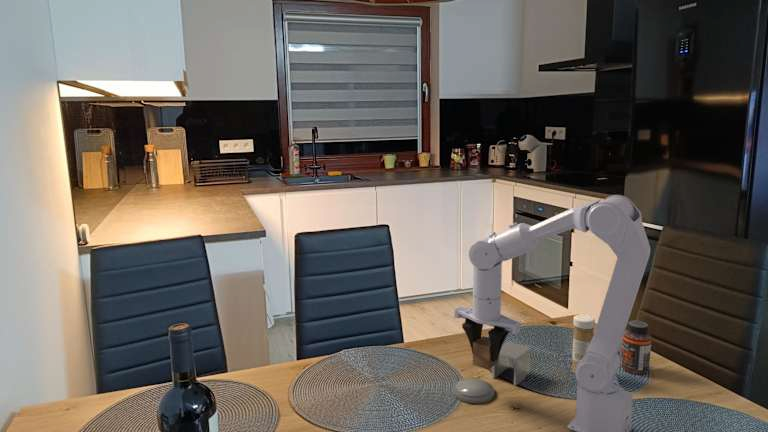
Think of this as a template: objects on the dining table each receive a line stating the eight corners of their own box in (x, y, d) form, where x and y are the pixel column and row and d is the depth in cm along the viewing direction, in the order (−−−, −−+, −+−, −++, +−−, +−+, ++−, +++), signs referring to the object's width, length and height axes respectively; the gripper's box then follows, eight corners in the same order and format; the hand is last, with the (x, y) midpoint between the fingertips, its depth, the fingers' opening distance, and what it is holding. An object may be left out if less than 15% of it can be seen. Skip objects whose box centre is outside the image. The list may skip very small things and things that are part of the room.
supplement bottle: (614, 366, 126) (617, 321, 124) (633, 361, 128) (636, 316, 126) (636, 377, 121) (639, 330, 119) (654, 372, 123) (658, 325, 121)
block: (498, 362, 114) (499, 340, 113) (488, 369, 111) (489, 347, 110) (482, 357, 117) (483, 335, 116) (472, 364, 114) (473, 342, 113)
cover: (529, 373, 124) (530, 347, 122) (515, 385, 118) (516, 358, 117) (506, 366, 127) (507, 341, 126) (492, 378, 122) (492, 351, 121)
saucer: (501, 390, 116) (501, 385, 116) (480, 408, 110) (480, 402, 109) (465, 378, 122) (465, 373, 122) (443, 394, 115) (443, 389, 115)
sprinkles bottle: (596, 373, 123) (599, 318, 120) (583, 379, 120) (586, 322, 118) (579, 366, 127) (582, 312, 124) (566, 371, 124) (569, 316, 122)
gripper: (528, 297, 109) (526, 359, 112) (466, 283, 119) (466, 341, 121) (512, 307, 104) (510, 372, 107) (449, 292, 113) (448, 352, 116)
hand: (485, 356), depth 114 cm, fingers closed on block, 4 cm apart
